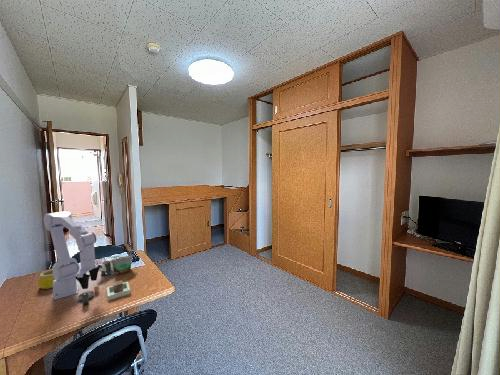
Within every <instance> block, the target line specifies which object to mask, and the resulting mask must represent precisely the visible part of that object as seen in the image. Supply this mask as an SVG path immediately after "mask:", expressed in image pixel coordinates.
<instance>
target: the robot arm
mask: <svg viewBox="0 0 500 375" xmlns="http://www.w3.org/2000/svg"><path fill="white" fill-rule="evenodd" d="M72 218H73V216H72V213H71V212H70V211H69V210H65V211H64V210H63V211H57V212H51V213H50V212H49V213H45V215H44V216H43V223H44V227H45V230H46V231H49V233H50V235H51V240H52V244H53V247H54V252H55V255H56V258H57V261H56V263H54V264H53V266H52V268H51V269H53V277H54V279H56V280H53V288H52V295H53V301H55V300H58V299H63V298H65V297H70V296H73V295H76V294H78V292H79V286H78V285H77V282H78V283H79V285H80V287H81V288H82V290H87V289H88V288H89V282H90V281H91V282H94V281H97V280H98V276H99V275H98V274H99V272H100V271H99V269H100V267H101V265H98V264H100V262H99V260H98V259H96V253H95V244H96V242H97V236H96V234H95V232H94V231H88V230H86V228H84V227H83V226H82V225H81V224H76V222H75V221H74V220H73V219H72ZM64 228H66V229H67V230H68V234H69V235H70V236H71V237H72V238H73V239H75V243H76V246H77V249H78V251H79V260H80V264H79V263H78V261H77V259H76V258H72V257H71V256H70V253H69V248H68V245H67V241H66V237H65V233H64ZM60 266H61V267H60ZM87 273H89V274H87Z"/></svg>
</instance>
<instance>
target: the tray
mask: <svg viewBox="0 0 500 375" xmlns="http://www.w3.org/2000/svg"><path fill="white" fill-rule="evenodd" d="M122 283H123V291H121V292H117V293H114V285H110V286H107V287H106V292H107V294H106V295H107V301H112V300H115V299H118V298H122V297H125V296H128V295H129V296H130V295H131V287H130V284H129V282H128V281H125V282H122Z"/></svg>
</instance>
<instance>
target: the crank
mask: <svg viewBox="0 0 500 375" xmlns="http://www.w3.org/2000/svg"><path fill="white" fill-rule="evenodd" d="M94 295H95V293H94V290H88V291H84V292H81V293H79V295H78V296H77V298H78V301H80V302H82V306H88V305H89V304H90V299H92V298H93V297H94Z"/></svg>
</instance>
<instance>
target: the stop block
mask: <svg viewBox="0 0 500 375" xmlns="http://www.w3.org/2000/svg"><path fill="white" fill-rule="evenodd" d="M123 283H124V282H123V280H122V279H121V280H118V281H113V285H112V286H114V293H117V292H121V291H123Z"/></svg>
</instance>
